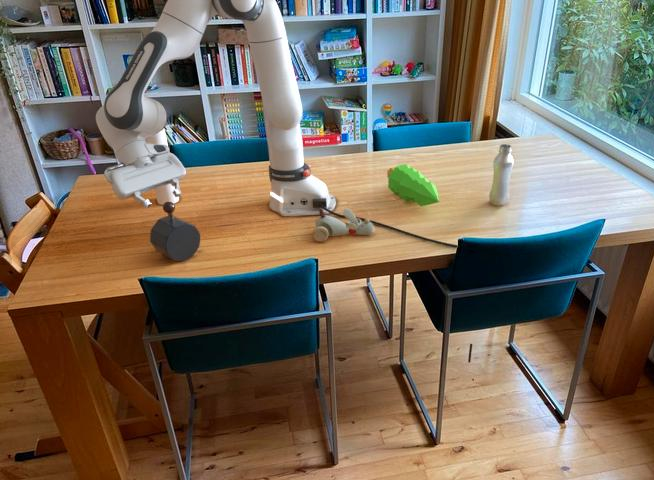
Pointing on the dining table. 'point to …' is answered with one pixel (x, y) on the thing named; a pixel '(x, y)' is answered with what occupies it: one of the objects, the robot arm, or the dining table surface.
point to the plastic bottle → (501, 176)
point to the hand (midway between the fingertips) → (164, 201)
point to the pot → (174, 236)
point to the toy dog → (340, 226)
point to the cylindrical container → (166, 191)
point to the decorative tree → (411, 185)
